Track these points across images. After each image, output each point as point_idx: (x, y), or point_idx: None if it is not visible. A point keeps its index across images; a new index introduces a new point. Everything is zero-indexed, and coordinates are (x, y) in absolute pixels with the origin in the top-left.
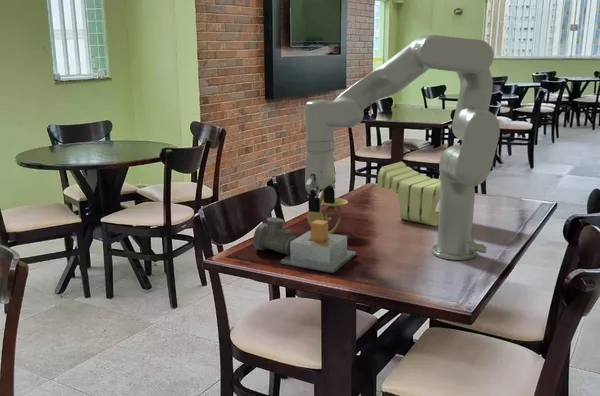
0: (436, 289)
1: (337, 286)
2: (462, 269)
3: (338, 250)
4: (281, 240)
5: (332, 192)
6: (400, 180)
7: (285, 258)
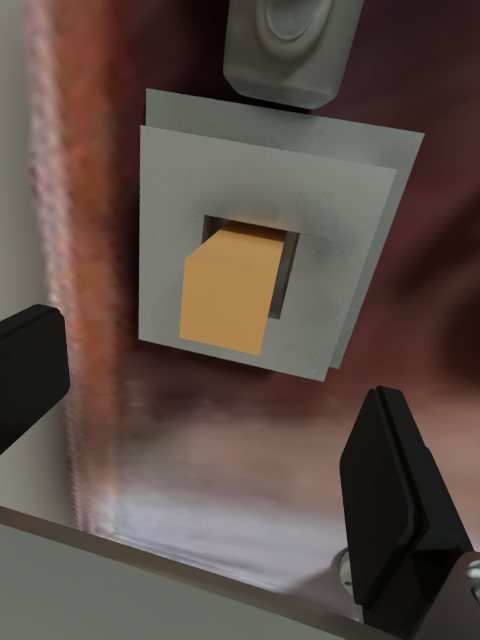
0: (154, 515)
1: (67, 344)
2: (283, 565)
3: None
4: (233, 13)
5: (353, 574)
6: None
7: (173, 103)
